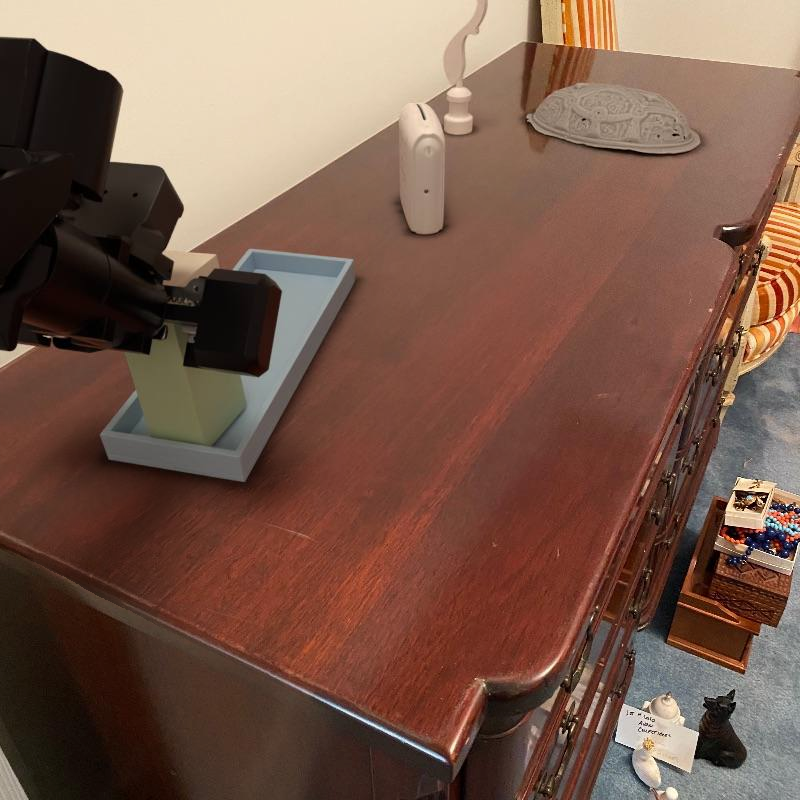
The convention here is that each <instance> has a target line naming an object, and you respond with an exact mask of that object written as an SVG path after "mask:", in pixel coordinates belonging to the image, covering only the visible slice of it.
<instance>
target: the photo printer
mask: <svg viewBox="0 0 800 800" xmlns="http://www.w3.org/2000/svg"><path fill="white" fill-rule="evenodd" d="M398 139H399V140H398V142H399V143H398V144H399V145H398V146H399V147H398V150H399V151H398V152H399V153H398V154H399V195H400V196H399V198H400V205H401V207H402V211H403V214H404V217H405V220H406V224H407V226H408V228H409V230H410V231H411V232H414V233H415V234H418V235H433V234H436V233H438V232H439V231H440V230H442V229H443V227H444V219H445V218H444V217H445V187H446V186H445V185H446V184H445V183H446V182H445V180H446V137H445V133H444V129H443V127H442V124H441V122H440V119H439V117H438V115H437V113H436V112H435V111H434V109H433V108H432V107H431V106H430V105H428V104H427V103H426V102H425V103H424V102H423V101H419V102H409V103H407V104H406V105H405V106H404V107H403V108H402V109H401V111H400V114H399V117H398Z"/></svg>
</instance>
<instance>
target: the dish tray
mask: <svg viewBox="0 0 800 800" xmlns="http://www.w3.org/2000/svg"><path fill="white" fill-rule="evenodd" d="M231 270H235V271H244V272H253V273H262V274H266V275H267V276H269V277H270V278H271V279H273V280H274V281H275V282H276V283H277V285H278V286H279V287H280V289H281V290H282V295H281V301H280V307H279V313H278V318H277V324H276V330H275V336H274V342H273V347H272V353H271V359H270V365H269V370H268V371H267V372H265V373H264V374H263V375H261V376H260V377H252V376H245V375H241V380H242V384H243V389H244V393H245V398H246V403H247V405H246V406H245V408H244V409H243V410H242V411H241V412H240V413H239V415H238V416H237V417H236V418H235V419H234V420H233V422H232V423H231V424H230V425H229V426H228V427H227V429H226V430H225V431H224V432H223V433H222V435H221V436H220V437H219V438H218V439H217V440H216V442H215V443H214V444H213V445H212V446H211V447H209V446H202V445H196V444H190V443H184V442H177V441H171V440H165V439H159V438H152V437H150V434H149V430H148V427H147V424H146V421H145V418H144V414H143V411H142V408H141V405H140V402H139V398H138V395H137V392H136V389H135V390H134V391H133V392H132V394H130V396H129V397H128V399H127V400H125V402H124V403H123V405H122V406H121V407H120V408H119V410H118V411H117V412H116V413H115V414H114V415H113V417H112V418H111V420H110V421H109V422H108V423H107V425H105V427H104V428H103V429H102V430H101V432H100V434H99V437H100V439H101V442H102V445H103V448H104V450H105V453H106V456H107V459H108V460H110V461H115V462H122V463H127V464H133V465H140V466H145V467H151V468H157V469H162V470H163V469H164V470H170V471H176V472H182V473H186V474H187V473H188V474H193V475H197V476H203V477H204V476H205V477H211V478H218V479H222V480H223V479H224V480H229V481H236V482H242V483H245V482H246V481H247V479H248V477H249V476H250V473H251V472H252V470H253V468H254V466H255V464H256V463H257V461H258V459H259V457H260V456H261V454H262V452H263V451H264V449H265V446H266V445H267V443H268V441H269V439H270V438H271V435H272V434H273V432H274V430H275V428H276V426H277V424H278V422H279V420H280V419H281V417H282V415H283V413H284V412H285V410H286V408H287V407H288V405H289V403H290V401H291V399H292V397H293V395H294V393H295V392H296V390H297V388H298V386H299V385H300V384H301V383H300V382H301V381H302V379H303V377H304V376H305V373H306V371H307V370H308V368H309V366H310V364H311V363H312V360H313V359H314V357H315V355H316V354H317V352H318V350H319V348H320V346H321V344H322V343H323V340H324V339H325V337H326V335H327V334H328V332H329V330H330V328H331V327H332V325H333V323H334V321H335V319H336V317H337V315H338V313H339V312H340V310H341V308H342V306H343V304H344V302H345V300H346V299H347V297H348V296H349V293H350V292H351V290H352V289H353V286H354V285H355V283H356V277H355V275H356V273H355V260H354V258H345V257H337V256H336V257H335V256H326V255H318V254H307V253H298V252H297V253H296V252H288V251H280V250H279V251H278V250H269V249H268V250H267V249H258V248H249V249H248V250H247V251H246V252H245V253H244V254H243V256H242V257H241V258H240V259H239V261H238V262H237V263H236V265H235V266H234V267H233V268H232V269H231Z"/></svg>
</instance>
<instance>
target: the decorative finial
mask: <svg viewBox="0 0 800 800" xmlns="http://www.w3.org/2000/svg"><path fill="white" fill-rule="evenodd" d="M476 1H477V2H476V7H475V10H474V13H473V15H472V17H471V18H470V19H469V21H468V22H467V23H466V24H465V25H464V26H463V27H462V28H461V29H459V31H458V32H457V33H456V34H455V35H454V36H453V37H452V38H451V40H449V42H448V43H447V46H446V48H445V50H444V52H443V56H442V58H443V59H442V61H443V70H444V74H445V76H446V79H447V81H448V83H449V84H450V86H451V88H450V89H449V90H448V91H447V92H446V100H447V101H448V102H449V105H448V112H446V113H445V115H444V117H443V132H445V133H446V134H449V135H455V136H459V135H467V134H470V133H471V132H472V131H473V127H474V126H473V125H474V124H473V122H474V117H473V115H472V114H471V113H470V112H469V102H471V101H472V91H470V90H469V88H468V87H465V86H464V74H465V71H466V65H467V64H466V63H467V61H466V41H467V38H468V37H469V35H473V36H477V35H478V34H479V33H480V27H481V25H482V23H483V21H484V19H485V17H486V14H487V11H488V7H489V6H488V4H489V0H476ZM454 85H455V86H454ZM452 86H453V87H452Z"/></svg>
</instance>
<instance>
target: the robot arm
mask: <svg viewBox="0 0 800 800" xmlns="http://www.w3.org/2000/svg"><path fill="white" fill-rule="evenodd" d="M123 95H124V88H123V85H122V83H120V81H119V80H118V79H117V77H116V76H114V75H113V74H112V73H111V72H109V71H108V70H104V69H99V68H97V67H96V66H93V65H91V64H89V63H87V62H85V61H83V60H80V59H77V58H75V57H73V56H70V55H68V54H65V53H61V52H57V51H53V50H50V49H47V48H46V47H45V46H44V45H43V44H42V43H40V42H39V41H38V40H37V39H36V38H35V37H16V36H15V37H14V36H0V351H2V352H14V351H15V350H16V349H17V347H18V345H23V346H31V347H38V348H45V349H48V348H51V344H52V345H53V347H55V348H56V349H58V350H64V351H72V352H78V353H85V354H93V353H97V352H101V351H107V350H110V351H115V352H123V353H124V352H129V353H136V354H144V355H150V351H151V345H152V340H158V341H165V340H166V338H167V335H168V326H167V325H163V323H164V322H166V323H174V324H182V325H181V332H184V333H187V334H188V338H187V345H186V350H185V356H184V361H183V366H185V367H192V368H199V369H207V370H213V371H218V372H223V373H231V374H238V375H245V376H252V377H260V376H261V375H263V374H264V373H265V372H267V371H268V370H269V365H270V359H271V353H272V347H273V342H274V336H275V330H276V324H277V318H278V313H279V307H280V301H281V295H282V290H281V289H280V287H279V286H278V285H277V283H276V282H275V281H274V280H273V279H271V278H270V277H269V276H267V275H266V274H262V273H253V272H244V271H235V270H232V269H225V268H220V269H218V268H214V270H213V271H212V272H211V273H210V274H209V275H208V277H205V276H199V278H195V279H192V280H191V281H189V283H188V284H187V286H185V287H178V286H169V285H163V281H164V280H167V281H170V280H171V276H172V271H173V266H174V261H173V260H171V259H170V258H168V257H166V256H165V255H163V254H162V253H163V251H164V250H166V248H167V247H168V245H169V243H170V241H171V239H172V236H173V233H174V231H175V228H176V226H177V223H178V222H179V219H181V218H182V217H183V215H184V211H185V206H184V205H185V204H184V203H183V201H182V200H181V197H180V196H179V194H178V192H177V191H176V188H175V187H174V185H173V183H172V182H171V180H170V178H169V176H168V174H167V173H166V170H165V169H164V168H163V167H161V166H160V165H155V164H146V163H145V164H143V163H134V162H123V161H122V162H120V161H111V159H112V155H113V148H114V145H115V144H114V143H115V138H116V133H117V127H118V122H119V117H120V111H121V108H122V107H121V106H122V102H123ZM170 300H171V302H173V303H175V302H176V300H177V303H180V304H181V302H182V301H183V303H184V304H185V305H179V304H170V303H168V302H170ZM189 300H190V301H192V302H193V303H191V302H188V301H189ZM162 325H163V327H162Z"/></svg>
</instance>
